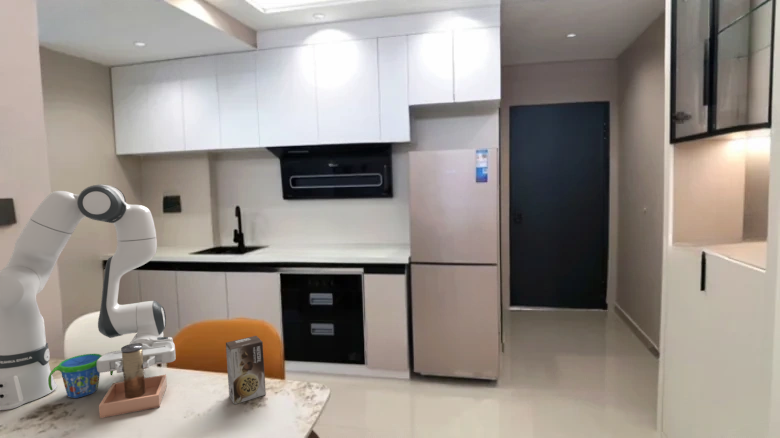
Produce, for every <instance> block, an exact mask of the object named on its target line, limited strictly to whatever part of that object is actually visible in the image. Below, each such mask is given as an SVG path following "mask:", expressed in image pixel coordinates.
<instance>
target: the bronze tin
mask: <svg viewBox="0 0 780 438" xmlns="http://www.w3.org/2000/svg"><path fill="white" fill-rule="evenodd" d="M142 348H143V344H141V343H134V344H130V343H129V344H126V345H123V346H122V347H121V348H120V351H121V352H122V362H123V372H122V373H123V374H122V375H123V381H124V390H125V398H136V397H139V396H141V395H143V394H144V393H145V379H144V378H145V369H143V350H142Z"/></svg>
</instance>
